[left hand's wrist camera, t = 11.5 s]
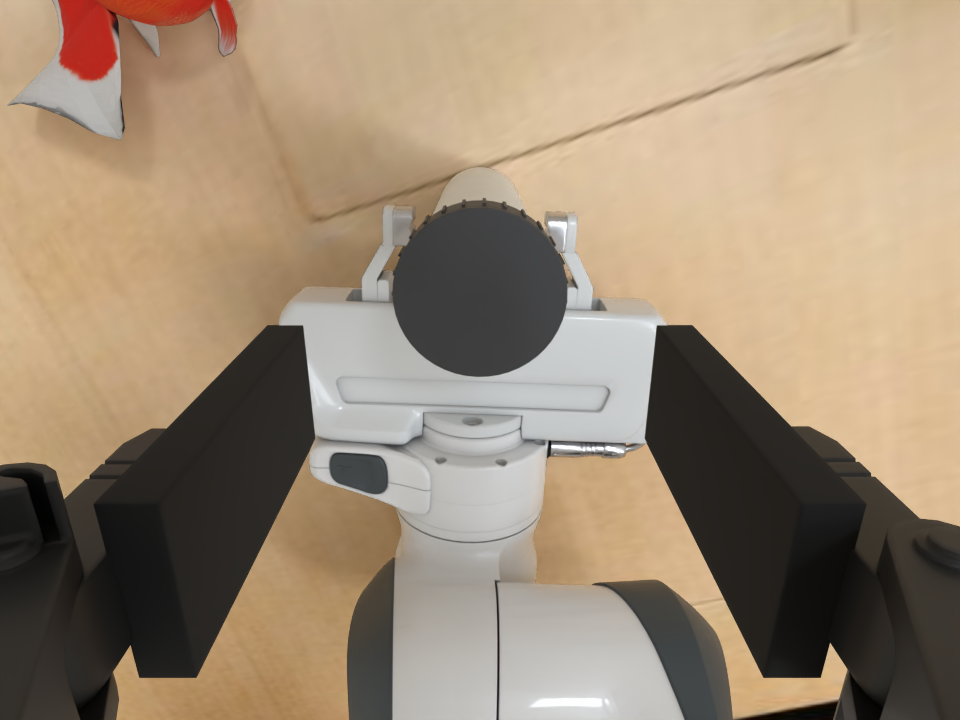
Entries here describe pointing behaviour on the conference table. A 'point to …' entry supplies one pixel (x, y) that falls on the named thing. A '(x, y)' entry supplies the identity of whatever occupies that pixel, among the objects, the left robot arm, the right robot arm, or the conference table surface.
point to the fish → (109, 55)
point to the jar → (479, 188)
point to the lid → (479, 288)
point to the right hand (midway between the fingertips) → (480, 209)
